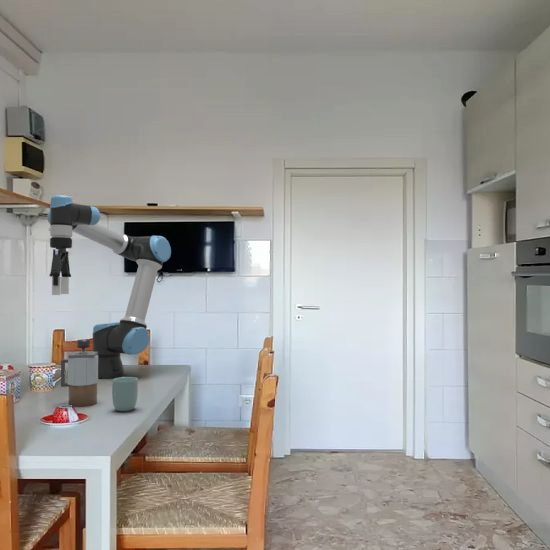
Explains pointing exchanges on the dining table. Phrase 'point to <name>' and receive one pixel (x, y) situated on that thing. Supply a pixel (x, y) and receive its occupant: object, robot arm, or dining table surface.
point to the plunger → (83, 344)
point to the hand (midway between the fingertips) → (60, 294)
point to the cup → (124, 393)
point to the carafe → (81, 378)
